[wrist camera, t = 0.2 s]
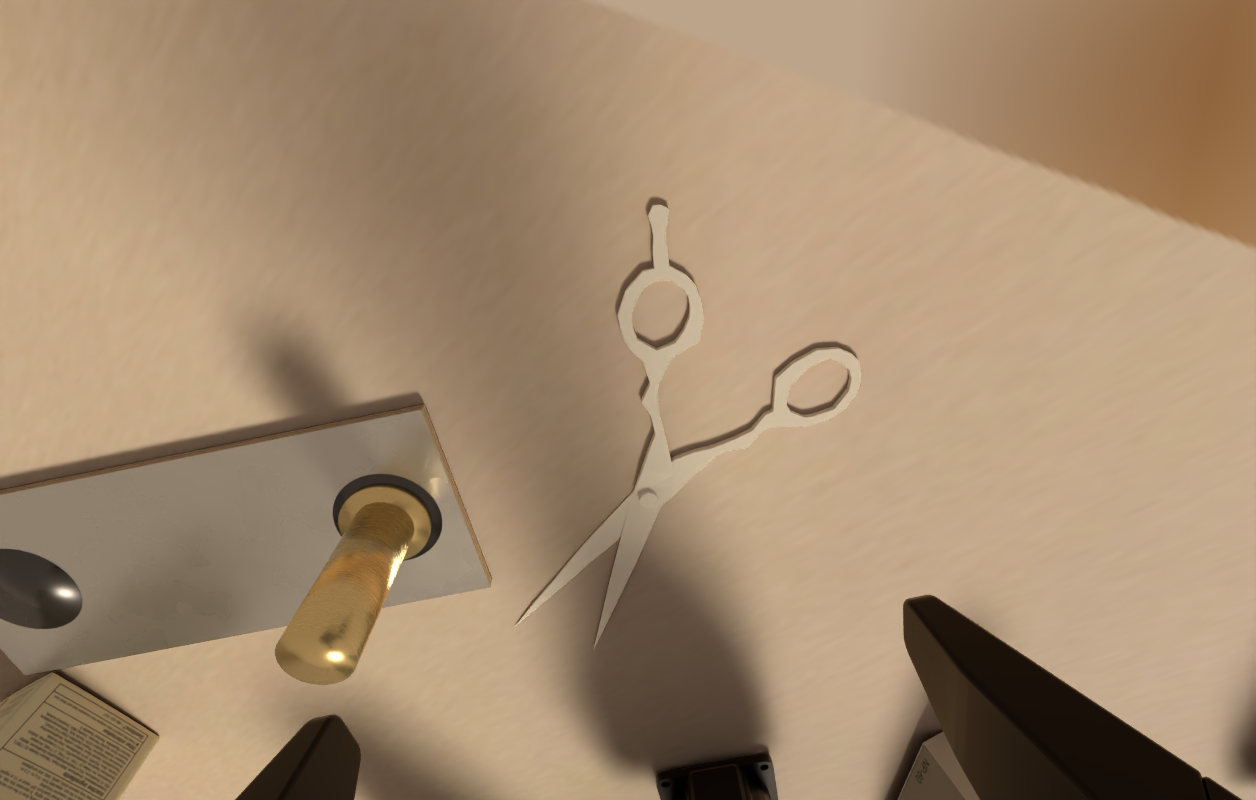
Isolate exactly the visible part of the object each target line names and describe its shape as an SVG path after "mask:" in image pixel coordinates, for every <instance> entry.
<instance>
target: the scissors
mask: <svg viewBox="0 0 1256 800" xmlns="http://www.w3.org/2000/svg"><path fill="white" fill-rule="evenodd" d="M668 213H669V208H668V207H665V206H663V205H661V204H655V205H652V207H651V209H650V211H649V213H648V218H649V221H650V224H651V227H652V233H653V247H652V255H653V266H654V267H653V268H648V269H644V270H642V271H641V272H640V273H639V274H638V275H637V276H636V278H635V279H634V280H633V281H632V282H631V283H630V284H629V286H628V287H627V288H626V289H625V292H624V295H623V298H622V301H621V304H620V307H619V310H618V313H617V315H618V320H619V324H620V328H621V332H622V335H623V338H624V340H625V342H626V343H627V345H628V347H629V348H630V350H631V351H632V352H633V353H634V354H635V355H636V356H637V357H638V358H639V359H640V360H641V361H643V363H644V366H645V370H646V373H647V376H648V379H649V383H648V386H647V388H646V390H645V392H644V394H643V396H642V398H641V403H642V404H643V406H644V407H645V409H646V410H647V412H648V413H649V414H650V416H651V419H652V423H653V427H654V431H655V432H654V434H653V437H652V439H651V442H650V444H649V447H648V449H647V452H646V455H645V458H644V461H643V464H642V467H641V470H640V473H639V476H638V479H637V481H636V484H635V487H634V490H633V492H632V493H631V494H630V495H629V496H628V497H627V498H626V499H625V500H624V501H623V502H622V503H621V504H620V505H619V507H618V508H617V509H616V510H615V511H614V512H613V513H612V514H611V515H610V516H609V517H608V518H607V519H606V520H605V521H604V522H603V523H602V524H601V526H600V527H599V528H598V529H597V530H596V531H595V532H594V533H593V534H592V535H591V536H590V537H589V538H588V539H587V541H586V542H585V543H584V544H583V545H582V546H581V547H580V549H579V550H578V551H577V552H576V553H575V554H574V555H573V557H572V558H571V559H570V560H569V561H568V563H567V564H566V565H565V566H564V567H563V569H562V570H561V571H560V572H559V573H558V575H557V576H556V577H555V578H554V579H553V580H552V582H551V583H550V584H549V585H548V586H547V587H546V588H545V590H544V591H543V592H542V593H541V594H540V595H539V596H538V598H537V599H536V600H535V601H534V602H533V603H532V605H531V606H530V607H529V608H528V610H527V611H526V612H525V614H524V615H523V616H522V618H521V619H520V620H519V622H518V623H517V624H516V626H517V625H518V624H519V623H520V622H521V621H523V620H524V619H525V618H526V617H527V616H529V615H530V614H531V613H532V612H533V611H535V610H536V609H537V608H538V607H539V606H541V605H542V604H543V603H544V602H545V601H546V600H548V599H549V598H550V597H551V596H552V595H554V594H555V593H556V592H557V591H558V590H560V589H561V588H562V587H563V586H564V585H566V584H567V583H568V582H569V581H570V580H571V579H572V578H574V577H575V576H576V575H577V574H578V573H579V572H580V571H581V570H582V569H584V568H585V567H586V566H587V565H588V564H589V563H591V562H592V561H593V560H594V559H595V558H597V557H598V556H599V555H600V554H602V553H603V552H604V551H605V550H607V549H608V548H609V547H610V546H612V545H613V544H614V543H615V542H616V541H617V540H618V539H619V538H620V537H621V539H620V543H619V547H618V550H617V554H616V558H615V562H614V566H613V570H612V573H611V577H610V581H609V585H608V590H607V594H606V598H605V602H604V607H603V611H602V615H601V620H600V624H599V628H598V632H597V637H596V641H595V645H594V648H595V646H596V644H597V642H598V640H599V638H600V636H601V634H602V632H603V630H604V628H605V626H606V624H607V622H608V620H609V618H610V616H611V614H612V612H613V610H614V608H615V606H616V604H617V602H618V600H619V598H620V596H621V594H622V592H623V589H624V587H625V585H626V583H627V581H628V579H629V577H630V575H631V573H632V571H633V569H634V567H635V565H636V563H637V560H638V558H639V556H640V554H641V551H642V549H643V547H644V545H645V542H646V540H647V538H648V536H649V533H650V531H651V529H652V527H653V524H654V522H655V520H656V518H657V515H658V513H659V511H660V508H661V506H662V505H663V504H664V503H665V502H667V501H668V500H669V499H671V498H672V497H673V496H674V495H675V494H676V493H677V492H678V491H679V490H680V489H681V488H682V487H683V486H684V485H685V484H686V483H687V482H688V481H689V480H690V479H691V478H692V477H693V476H694V475H695V474H696V473H698V472H699V471H700V470H701V469H703V468H704V467H705V466H706V465H707V464H709V463H710V462H711V461H712V460H713V459H714V458H715V457H716V456H718V455H720V454H723V453H725V452H727V451H730V450H740V449H747V448H748V447H749V446H750V445H751V444H752V443H753V441H754V440H755V439H756V438H757V437H758V436H759V435H760V434H761V433H762V432H763V431H764V430H765V429H769V428H778V427H807V426H812V425H815V424H818V423H821V422H823V421H826V420H829V419H831V418H833V417H834V416H836V415H837V414H839V413H840V412H842V411H843V410H845V408H846V407H847V406H848V405H849V403H850V402H851V401H852V400H853V398H854V397H855V396H856V394H857V392H858V389H859V387H860V384H861V369H860V364H859V361H858V360H857V359H856V358H855V356H854V355H853V354H852V353H850V352H848V351H846V350H843V349H841V348H839V347H826V348H815V349H813V350H811V351H809V352H807V353H806V354H804V355H802V356H800V357H798V358H796V359H795V360H793V361H791V362H790V363H789V364H788V365H787V366H786V367H784V368H783V369H782V370H781V371H780V372H779V373H778V374H776V375H775V376H774V386H773V398H772V409H770V410H768V411H766V412H764V413H763V414H762V415H761V416H760V417H759V419H758V420H757V421H756V422H755V423H754V425H753V426H752V427H751V428H750V429H747V430H745V431H743V432H741V433H739V434H737V435H735V436H733V437H730V438H728V439H725V440H723V441H720V442H717V443H715V444H712V445H709V446H705V447H700V448H696V449H692V450H689V451H687V452H684V453H681V454H679V455H676V456H674V457H672V458H671V457H670V453H669V449H668V444H667V440H666V436H665V431H664V427H663V424H662V420H661V416H660V412H659V407H658V389H659V383H660V381H661V379H662V377H663V375H664V373H665V371H666V369H667V367H668V365H669V363H670V361H671V359H673V358H674V357H675V356H677V355H678V354H679V353H681V352H683V351H684V350H686V349H688V348H690V347H691V346H693V345H695V344H697V343H698V342H699V340H700V336H701V332H702V327H703V321H704V316H703V309H702V302H701V299H700V296H699V293H698V290H697V287H696V285H695V283H694V282H693V281H692V280H691V279H690V278H689V277H688V276H687V275H686V274H685V273H683V272H681V271H680V270H678V269H676V268H674V267H672V266H670V265H669V259H668V252H667V244H666V235H665V231H666V229H667V226H668ZM660 281H671V282H673V283H674V284H676V285H678V286H679V287H681V288H682V289H684V291H685V292H686V294H687V295H688V302H689V314H688V318H687V320H686V323H685V325H684V327H683V329H682V331H681V332H680V333H679V335H678V336H677V338H676V339H675V340H674V341H672V342H670V343H667V344H665V345H663V346H660V347H658V348H655V347H653V346H652V345H650V344H648V343H646V342H644V341H642V340H641V339H639V338H637V336H636V333H635V331H634V328H633V323H632V313H633V309H634V306H635V304H636V302H637V300H638V298H639V296H640V294H641V293H642V292H643V290H644V289H645V288H646V286H648V285H651V284H653V283H656V282H660ZM830 359H833V360H835V361H837V362H839V363H841V364H843V365H844V366H845V367H846V368H847V370H848V374H849V380H848V384H847V388H846V389H845V391H844V392H843V394H842V395H841V396H840V397H839V399H838V400H837V401H836V402H835V403H834V405H833V406H832V407H829V408H826V409H823V410H820V411H817V412H814V413H811V414H805V415H802V414H799V413H797V412H794V411H792V410H789V408H788V406H787V399H788V393H789V388H790V387H791V386H792V385H793V384H794V383H795V381H796V380H797V379H798V378H799V377H800V376H801V375H802V374H803V373H804V372H805V371H806V370H807V369H808V368H810V367H812V366H814V365H816V364H818V363H820V362H822V361H825V360H830ZM593 650H594V649H593Z"/></svg>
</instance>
